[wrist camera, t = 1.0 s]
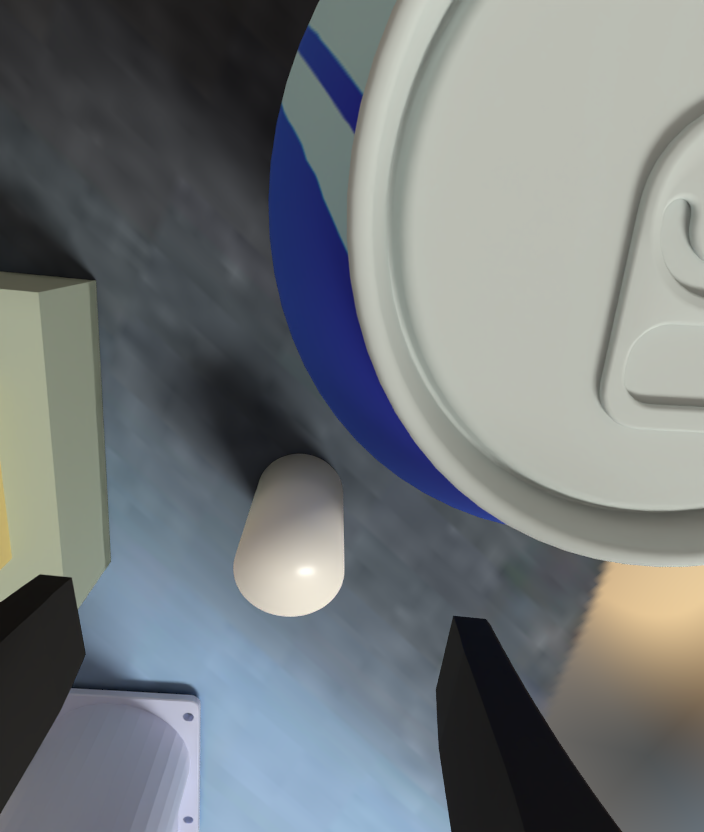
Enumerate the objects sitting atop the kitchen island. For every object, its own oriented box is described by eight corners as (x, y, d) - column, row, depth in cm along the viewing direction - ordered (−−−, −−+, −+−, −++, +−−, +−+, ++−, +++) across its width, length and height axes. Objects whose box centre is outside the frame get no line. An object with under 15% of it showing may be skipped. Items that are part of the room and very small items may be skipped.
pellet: (339, 533, 23) (339, 619, 18) (255, 527, 23) (231, 613, 18) (346, 457, 22) (349, 526, 17) (259, 450, 22) (235, 518, 17)
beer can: (266, 233, 19) (11, 248, 4) (434, 34, 18) (1036, -1199, 2) (429, 386, 21) (649, 765, 6) (596, 222, 20) (1483, 194, 4)
